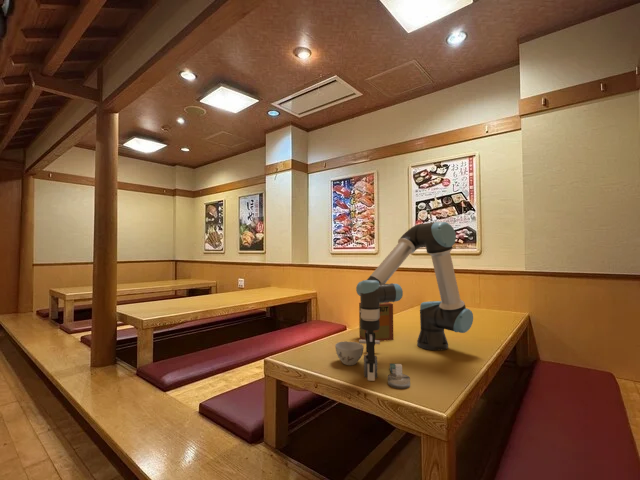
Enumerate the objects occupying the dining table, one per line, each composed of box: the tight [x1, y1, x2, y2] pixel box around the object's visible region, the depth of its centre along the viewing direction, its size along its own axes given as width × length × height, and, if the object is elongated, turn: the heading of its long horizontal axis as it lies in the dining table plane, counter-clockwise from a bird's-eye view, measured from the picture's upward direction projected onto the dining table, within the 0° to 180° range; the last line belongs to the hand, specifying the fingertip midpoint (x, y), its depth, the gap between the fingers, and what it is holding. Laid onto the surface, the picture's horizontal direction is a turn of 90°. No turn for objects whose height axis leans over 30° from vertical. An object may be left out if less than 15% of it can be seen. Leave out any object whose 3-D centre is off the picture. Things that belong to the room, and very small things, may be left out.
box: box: [358, 302, 394, 342], centre depth 181 cm, size 17×9×20 cm, turn 104°
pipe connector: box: [358, 339, 381, 345], centre depth 156 cm, size 10×10×10 cm
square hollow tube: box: [363, 354, 378, 379], centre depth 128 cm, size 5×5×7 cm
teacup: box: [334, 341, 364, 366], centre depth 142 cm, size 15×12×8 cm
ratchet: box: [387, 363, 411, 390], centre depth 124 cm, size 8×20×7 cm, turn 174°
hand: (370, 374), depth 127 cm, fingers open, 11 cm apart
